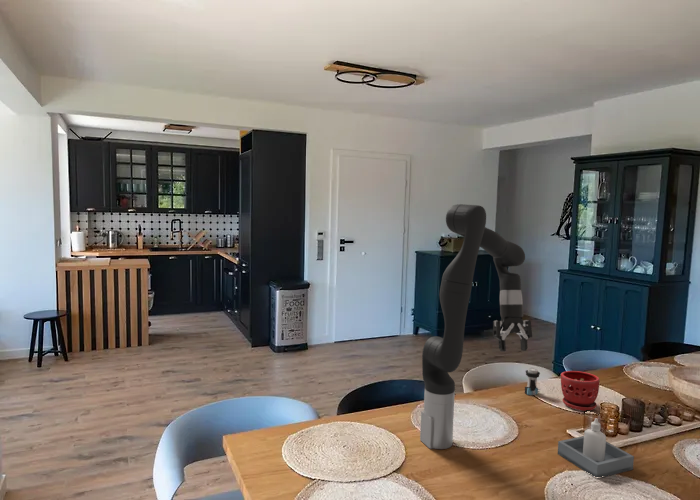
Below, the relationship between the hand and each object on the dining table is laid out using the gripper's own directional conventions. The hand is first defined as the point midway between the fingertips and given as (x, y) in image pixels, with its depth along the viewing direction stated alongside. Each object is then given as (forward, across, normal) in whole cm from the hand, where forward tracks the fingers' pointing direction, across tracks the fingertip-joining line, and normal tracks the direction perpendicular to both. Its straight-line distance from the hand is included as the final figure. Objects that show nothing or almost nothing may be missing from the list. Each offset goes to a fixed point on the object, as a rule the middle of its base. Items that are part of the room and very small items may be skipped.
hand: (513, 350), depth 163 cm
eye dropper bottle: (+30, +9, -23) cm, 39 cm away
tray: (+30, +9, -23) cm, 39 cm away
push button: (+20, +26, +24) cm, 40 cm away
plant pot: (+22, +35, +9) cm, 42 cm away
